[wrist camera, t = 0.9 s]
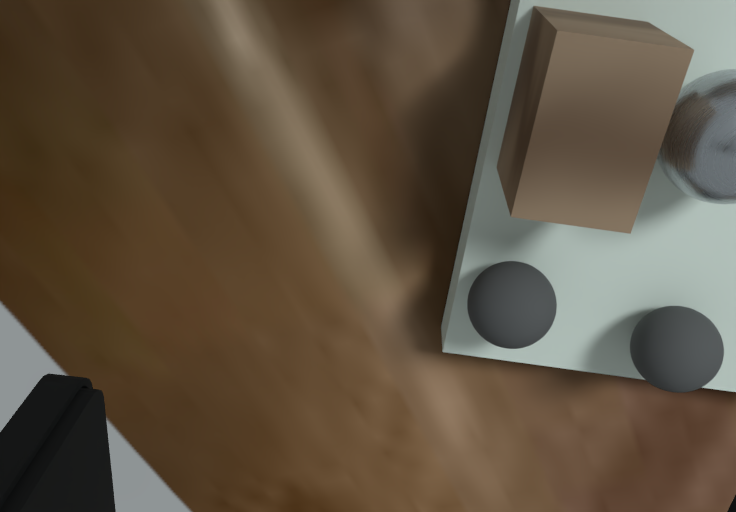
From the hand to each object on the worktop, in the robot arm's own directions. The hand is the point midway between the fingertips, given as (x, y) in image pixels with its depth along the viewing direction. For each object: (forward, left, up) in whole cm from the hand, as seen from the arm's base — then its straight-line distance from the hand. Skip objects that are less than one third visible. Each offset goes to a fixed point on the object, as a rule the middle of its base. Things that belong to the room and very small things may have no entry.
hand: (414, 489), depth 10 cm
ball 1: (+6, +5, -16) cm, 18 cm away
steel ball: (-2, +10, -16) cm, 19 cm away
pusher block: (-2, +5, -18) cm, 19 cm away
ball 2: (+7, +12, -16) cm, 22 cm away
